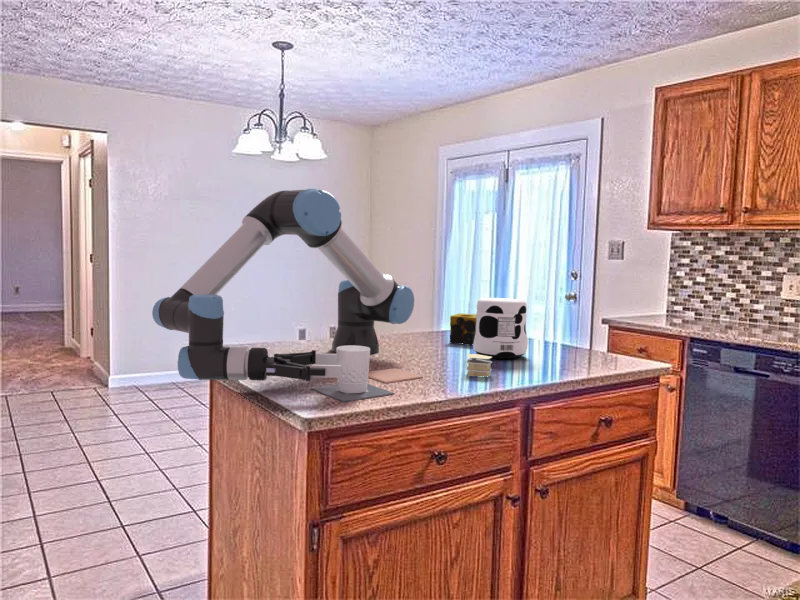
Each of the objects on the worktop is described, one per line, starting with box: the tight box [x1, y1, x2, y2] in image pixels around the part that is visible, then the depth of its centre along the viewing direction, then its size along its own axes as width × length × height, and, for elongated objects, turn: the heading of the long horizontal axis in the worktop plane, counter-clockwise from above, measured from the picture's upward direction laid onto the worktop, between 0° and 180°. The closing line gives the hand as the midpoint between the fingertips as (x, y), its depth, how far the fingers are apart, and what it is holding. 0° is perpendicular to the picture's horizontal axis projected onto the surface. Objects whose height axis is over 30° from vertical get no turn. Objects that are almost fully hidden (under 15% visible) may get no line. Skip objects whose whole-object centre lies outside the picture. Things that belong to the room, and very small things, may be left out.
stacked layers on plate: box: [466, 353, 493, 377], centre depth 168 cm, size 10×9×6 cm
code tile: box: [311, 383, 395, 403], centre depth 145 cm, size 14×14×1 cm
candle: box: [449, 313, 477, 345], centre depth 223 cm, size 10×10×10 cm
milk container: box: [472, 297, 529, 359], centre depth 197 cm, size 17×17×18 cm
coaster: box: [368, 367, 424, 384], centre depth 163 cm, size 12×12×1 cm
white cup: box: [335, 345, 371, 394], centre depth 145 cm, size 8×8×10 cm
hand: (342, 365), depth 144 cm, fingers open, 13 cm apart
